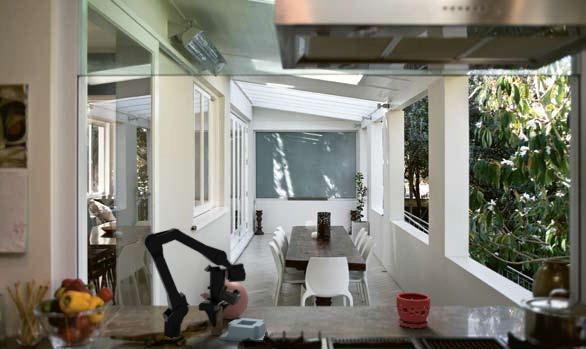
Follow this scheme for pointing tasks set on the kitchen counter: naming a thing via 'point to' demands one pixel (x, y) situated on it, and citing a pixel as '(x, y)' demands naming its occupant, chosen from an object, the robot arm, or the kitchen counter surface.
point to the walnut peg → (217, 324)
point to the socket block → (245, 330)
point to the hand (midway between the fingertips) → (216, 325)
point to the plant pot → (413, 309)
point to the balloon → (238, 308)
